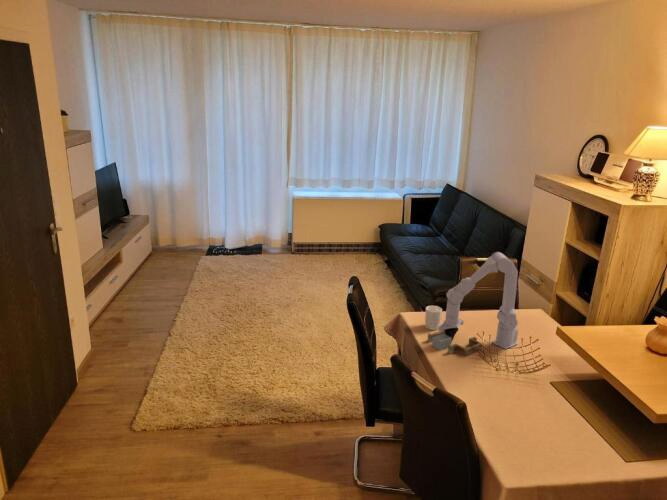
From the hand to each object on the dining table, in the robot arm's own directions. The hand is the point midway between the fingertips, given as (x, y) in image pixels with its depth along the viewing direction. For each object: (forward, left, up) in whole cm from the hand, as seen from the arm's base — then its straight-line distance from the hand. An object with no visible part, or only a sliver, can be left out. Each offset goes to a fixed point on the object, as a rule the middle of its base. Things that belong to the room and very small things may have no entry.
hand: (449, 341), depth 229 cm
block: (+5, 0, -1) cm, 5 cm away
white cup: (-6, -16, -1) cm, 17 cm away
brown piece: (-2, +2, -1) cm, 3 cm away
